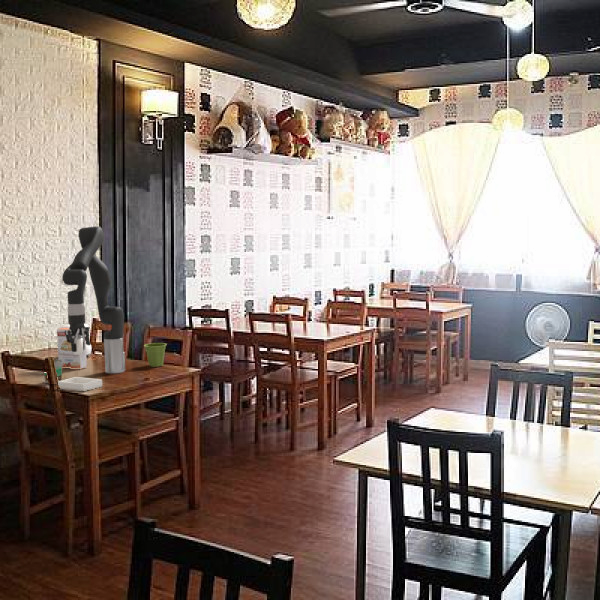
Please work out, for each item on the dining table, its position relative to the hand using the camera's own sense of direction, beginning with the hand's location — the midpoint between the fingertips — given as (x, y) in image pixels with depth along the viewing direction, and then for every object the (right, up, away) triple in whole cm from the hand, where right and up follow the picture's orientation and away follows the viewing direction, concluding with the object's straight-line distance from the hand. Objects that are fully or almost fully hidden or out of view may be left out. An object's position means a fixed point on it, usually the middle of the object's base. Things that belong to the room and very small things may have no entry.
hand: (78, 350), depth 354 cm
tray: (0, -17, +2) cm, 17 cm away
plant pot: (+25, -12, +55) cm, 62 cm away
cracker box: (-18, -13, +52) cm, 56 cm away
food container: (-15, -16, +16) cm, 27 cm away
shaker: (0, -1, 0) cm, 1 cm away
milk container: (-26, -10, +86) cm, 91 cm away
